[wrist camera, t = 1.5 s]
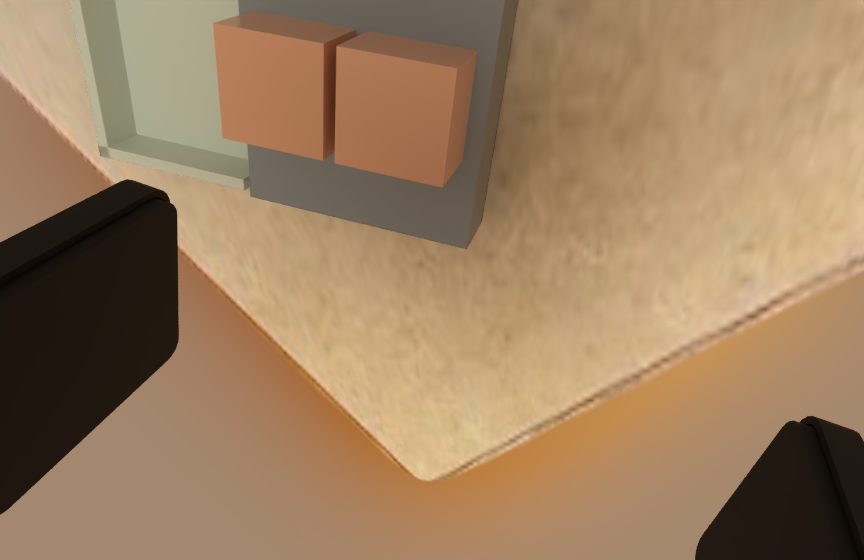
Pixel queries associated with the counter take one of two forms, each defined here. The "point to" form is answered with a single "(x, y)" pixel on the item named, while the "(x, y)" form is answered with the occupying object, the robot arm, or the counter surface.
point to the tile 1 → (278, 81)
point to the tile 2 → (402, 106)
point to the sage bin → (158, 85)
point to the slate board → (381, 194)
